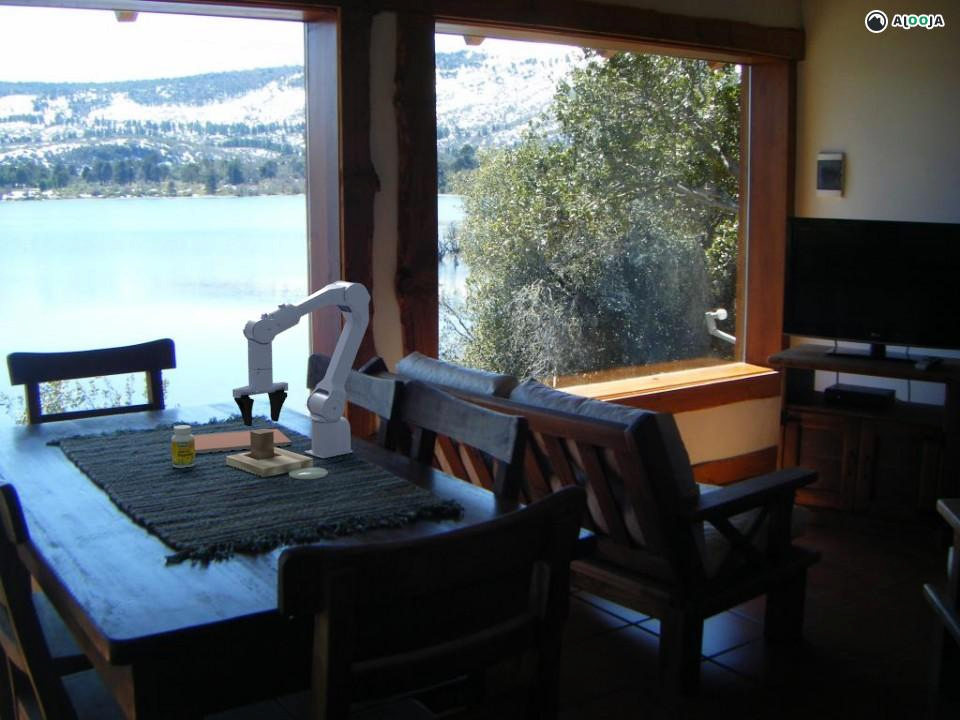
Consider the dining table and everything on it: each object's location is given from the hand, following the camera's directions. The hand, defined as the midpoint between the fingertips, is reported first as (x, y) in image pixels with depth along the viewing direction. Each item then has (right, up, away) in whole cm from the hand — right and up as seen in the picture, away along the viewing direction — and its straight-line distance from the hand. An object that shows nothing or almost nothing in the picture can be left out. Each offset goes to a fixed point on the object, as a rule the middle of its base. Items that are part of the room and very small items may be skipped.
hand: (261, 423), depth 254 cm
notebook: (-12, -7, +22) cm, 26 cm away
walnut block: (0, -10, +2) cm, 10 cm away
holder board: (+2, -10, -1) cm, 10 cm away
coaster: (+13, -12, -8) cm, 19 cm away
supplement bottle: (-18, -10, -1) cm, 21 cm away
